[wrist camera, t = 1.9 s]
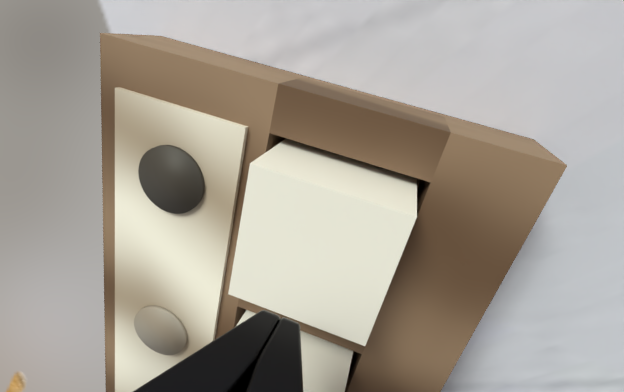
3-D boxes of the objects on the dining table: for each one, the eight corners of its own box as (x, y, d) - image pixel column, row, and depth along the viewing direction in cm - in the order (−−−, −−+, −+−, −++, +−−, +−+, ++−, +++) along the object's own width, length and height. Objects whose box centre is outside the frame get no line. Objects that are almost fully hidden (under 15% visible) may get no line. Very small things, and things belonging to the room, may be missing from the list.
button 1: (375, 286, 13) (365, 346, 11) (264, 247, 14) (228, 294, 11) (416, 177, 12) (416, 217, 9) (286, 137, 12) (250, 163, 10)
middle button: (328, 409, 16) (311, 480, 14) (238, 371, 17) (204, 432, 14) (355, 337, 14) (341, 404, 12) (253, 298, 15) (218, 353, 12)
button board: (353, 498, 21) (342, 573, 18) (142, 403, 23) (101, 457, 20) (533, 139, 12) (573, 170, 9) (160, 35, 14) (89, 32, 11)
